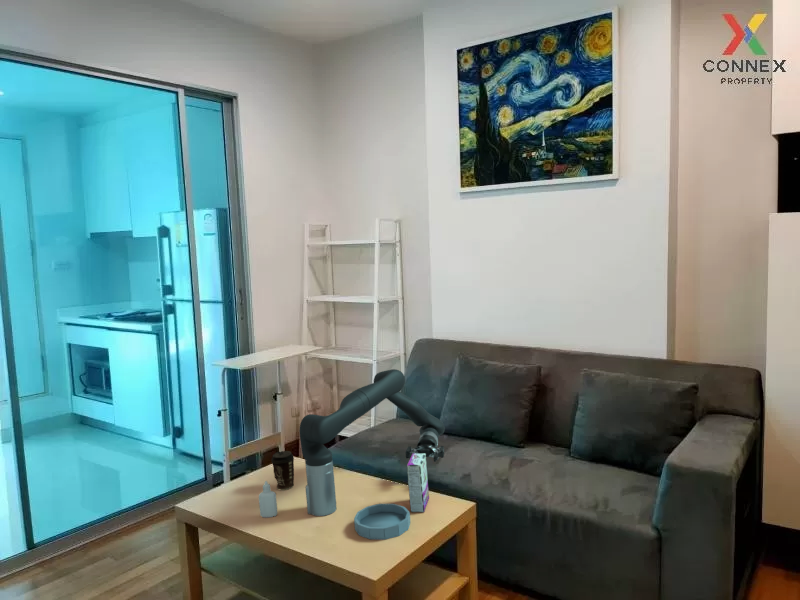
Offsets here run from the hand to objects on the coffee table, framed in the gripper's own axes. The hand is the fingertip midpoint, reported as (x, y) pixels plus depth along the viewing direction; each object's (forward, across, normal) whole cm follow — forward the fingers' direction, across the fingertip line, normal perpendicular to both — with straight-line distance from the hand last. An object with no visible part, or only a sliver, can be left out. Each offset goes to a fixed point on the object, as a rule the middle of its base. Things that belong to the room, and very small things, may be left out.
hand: (422, 459), depth 213 cm
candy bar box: (+14, 0, +11) cm, 18 cm away
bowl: (+30, -10, +10) cm, 33 cm away
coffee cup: (-2, -54, +11) cm, 55 cm away
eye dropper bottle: (+22, -51, +10) cm, 57 cm away
